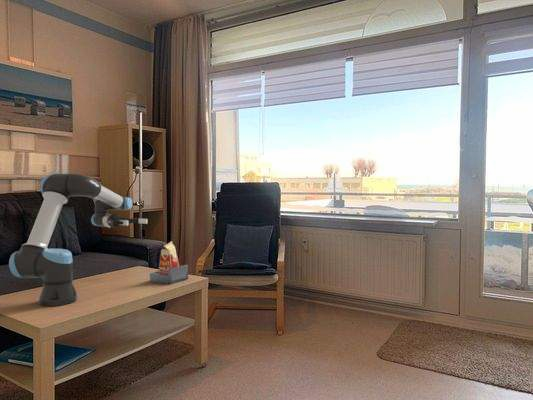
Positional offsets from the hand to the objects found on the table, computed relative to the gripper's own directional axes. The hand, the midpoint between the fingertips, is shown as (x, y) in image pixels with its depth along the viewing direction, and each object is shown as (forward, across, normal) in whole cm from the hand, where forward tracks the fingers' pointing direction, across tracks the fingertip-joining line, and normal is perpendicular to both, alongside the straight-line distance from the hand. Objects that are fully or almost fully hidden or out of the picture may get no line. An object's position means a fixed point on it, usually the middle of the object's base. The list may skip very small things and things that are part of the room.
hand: (137, 222), depth 223 cm
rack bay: (+18, -6, -32) cm, 37 cm away
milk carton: (+18, -6, -31) cm, 36 cm away
